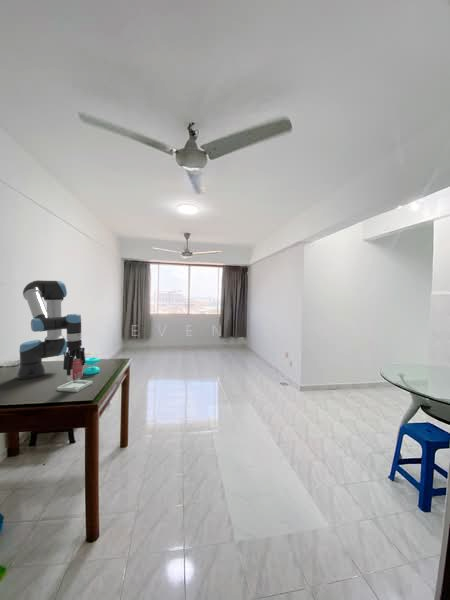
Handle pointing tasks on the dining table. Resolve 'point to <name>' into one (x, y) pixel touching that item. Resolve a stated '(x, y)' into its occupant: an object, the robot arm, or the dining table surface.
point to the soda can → (76, 369)
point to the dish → (74, 385)
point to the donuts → (91, 369)
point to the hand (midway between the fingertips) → (75, 378)
